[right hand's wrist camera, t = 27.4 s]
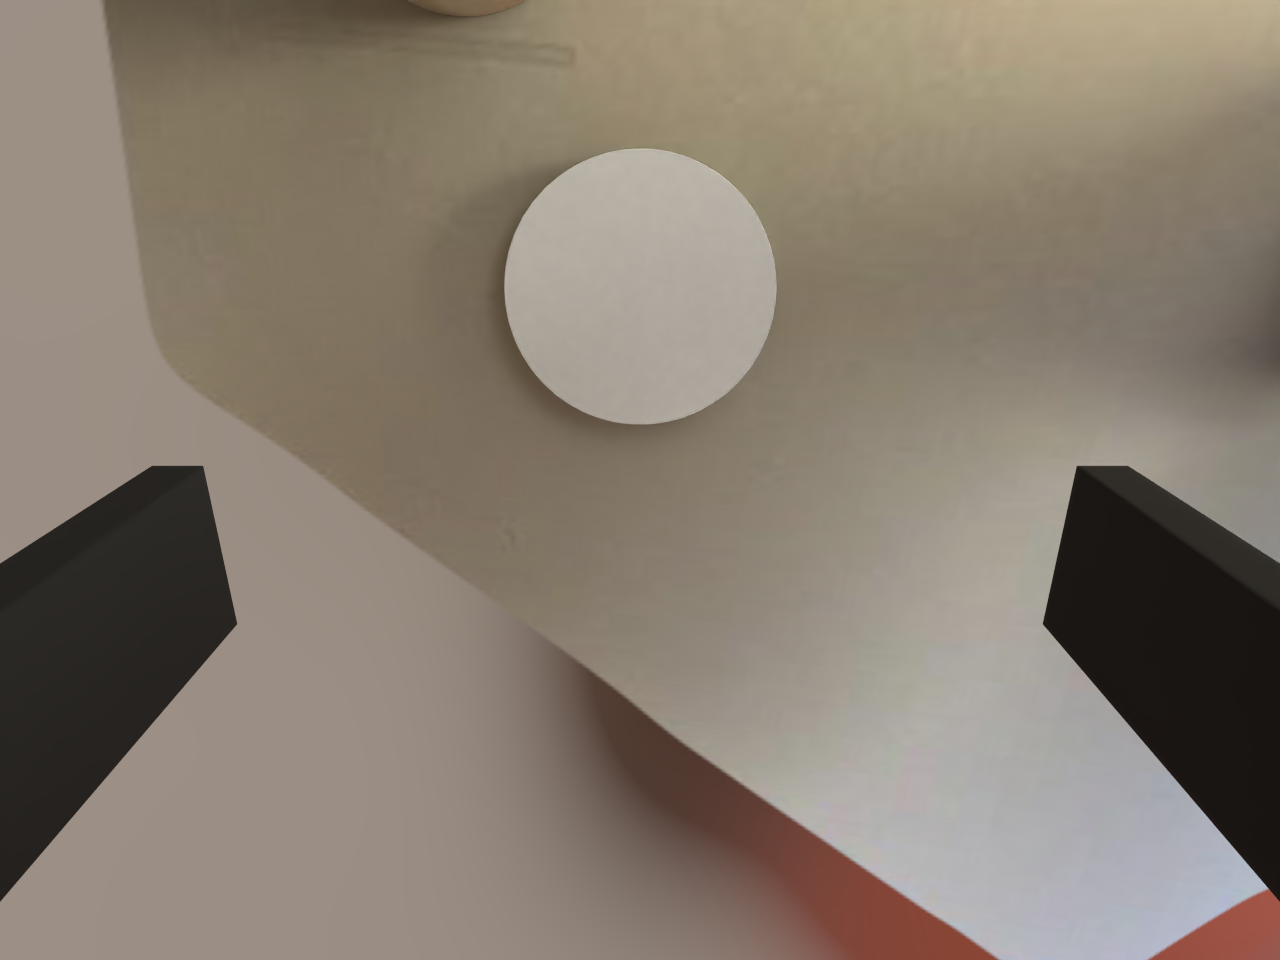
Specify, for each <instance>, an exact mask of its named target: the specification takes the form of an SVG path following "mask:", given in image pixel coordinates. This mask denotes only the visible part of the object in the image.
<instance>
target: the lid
mask: <svg viewBox="0 0 1280 960" xmlns="http://www.w3.org/2000/svg"><path fill="white" fill-rule="evenodd" d="M776 289H777V282H776V269H775V263H774V258H773V253H772V249H771V246H770V243H769V240H768V237H767V234H766V231H765V229H764V227H763V226H762V224H761V222H760V220H759V218H758V216H757V214H756V213H755V211H754V210H753V208H752V207H751V205H750V204H749V202H748V201H747V200H746V198H745V197H744V196H743V195H742V194H741V193H740V192H739V191H738V190H737V189H736V188H735V186H734V185H732V184H731V183H730V182H729V181H728V180H726V179H725V178H724V177H723V176H722V175H720V174H719V173H718V172H716V171H714V170H713V169H711V168H709V167H708V166H706V165H705V164H703V163H701V162H698V161H696V160H694V159H692V158H689V157H687V156H684V155H681V154H677V153H673V152H670V151H665V150H658V149H650V148H630V149H623V150H616V151H610V152H607V153H604V154H600V155H597V156H594V157H591V158H589V159H587V160H585V161H582V162H580V163H578V164H576V165H574V166H573V167H571V168H570V169H568V170H566V171H565V172H563V173H562V174H560V175H559V176H558V177H557V178H555V179H554V180H553V181H552V182H551V183H550V184H548V185H547V186H546V187H545V188H544V189H543V190H542V191H541V193H540V194H539V195H538V196H537V197H536V198H535V199H534V201H533V202H532V203H531V205H530V206H529V208H528V209H527V211H526V212H525V214H524V215H523V217H522V219H521V221H520V223H519V225H518V227H517V229H516V231H515V233H514V236H513V239H512V242H511V245H510V248H509V251H508V256H507V261H506V266H505V278H504V295H505V307H506V312H507V317H508V322H509V325H510V328H511V331H512V334H513V337H514V340H515V342H516V344H517V346H518V348H519V350H520V352H521V354H522V356H523V358H524V359H525V361H526V362H527V364H528V365H529V367H530V368H531V370H532V371H533V372H534V373H535V375H536V376H537V377H538V378H539V379H540V380H541V382H542V383H543V384H544V385H545V386H546V387H548V388H549V389H550V390H551V391H552V392H553V393H554V394H555V395H556V396H558V397H559V398H561V399H562V400H564V401H565V402H566V403H568V404H569V405H571V406H573V407H575V408H577V409H578V410H580V411H582V412H584V413H587V414H589V415H592V416H594V417H597V418H600V419H604V420H608V421H612V422H616V423H624V424H632V425H647V424H657V423H665V422H669V421H673V420H677V419H681V418H684V417H686V416H689V415H691V414H694V413H696V412H699V411H700V410H702V409H704V408H706V407H708V406H709V405H711V404H713V403H714V402H716V401H717V400H719V399H720V398H721V397H723V396H724V395H725V394H727V393H728V392H729V391H730V390H731V389H732V388H733V387H734V386H735V385H736V384H737V383H738V382H739V381H740V380H741V379H742V378H743V377H744V375H745V374H746V373H747V372H748V370H749V369H750V368H751V366H752V365H753V363H754V362H755V360H756V358H757V357H758V355H759V354H760V352H761V349H762V347H763V345H764V343H765V341H766V339H767V336H768V333H769V330H770V327H771V324H772V321H773V315H774V310H775V304H776Z"/></svg>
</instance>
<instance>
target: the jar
mask: <svg viewBox="0 0 1280 960" xmlns="http://www.w3.org/2000/svg"><path fill="white" fill-rule="evenodd" d="M407 1H409V2H411V3H413V4H415V5H417V6H419V7H422V8H425V9H427V10H430V11H433V12H437V13H441V14H446V15H452V16H464V17H468V16H483V15H487V14H492V13H496V12H500V11H503V10H505V9H508V8H510V7H513V6H515V5H517V4H519V3H520V2H522V1H524V0H407Z"/></svg>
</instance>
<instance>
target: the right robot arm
mask: <svg viewBox="0 0 1280 960" xmlns="http://www.w3.org/2000/svg"><path fill="white" fill-rule="evenodd" d="M236 625H237V621H236V616H235V612H234V607H233V603H232V598H231V593H230V589H229V584H228V579H227V575H226V570H225V565H224V561H223V556H222V552H221V547H220V542H219V538H218V533H217V528H216V524H215V519H214V514H213V510H212V505H211V500H210V496H209V491H208V487H207V482H206V477H205V473H204V468H203V466H151V467H150V468H148V469H147V470H145V471H144V472H142V473H140V474H139V475H137V476H136V477H134V478H133V479H131V480H130V481H128V482H126V483H125V484H123V485H122V486H120V487H119V488H117V489H115V490H114V491H112V492H111V493H109V494H108V495H106V496H105V497H103V498H101V499H100V500H98V501H97V502H95V503H94V504H92V505H91V506H89V507H87V508H86V509H84V510H83V511H81V512H80V513H78V514H77V515H75V516H74V517H72V518H70V519H69V520H67V521H66V522H64V523H63V524H61V525H60V526H58V527H56V528H55V529H53V530H52V531H50V532H49V533H47V534H46V535H44V536H42V537H41V538H39V539H38V540H36V541H35V542H33V543H32V544H30V545H28V546H27V547H25V548H24V549H22V550H21V551H19V552H18V553H16V554H14V555H13V556H11V557H10V558H8V559H7V560H5V561H4V562H2V563H0V901H1V900H2V899H3V898H4V896H5V895H6V894H7V893H8V892H9V891H10V889H11V888H12V887H13V886H14V885H15V884H16V882H17V881H18V880H19V879H20V878H21V877H22V875H23V874H24V873H25V872H26V871H27V870H28V868H29V867H30V866H31V865H32V864H33V862H34V861H35V860H36V859H37V858H38V857H39V855H40V854H41V853H42V852H43V851H44V850H45V848H46V847H47V846H48V845H49V844H50V843H51V841H52V840H53V839H54V838H55V837H56V836H57V834H58V833H59V832H60V831H61V830H62V829H63V827H64V826H65V825H66V824H67V823H68V822H69V820H70V819H71V818H72V817H73V816H74V814H75V813H76V812H77V811H78V810H79V809H80V807H81V806H82V805H83V804H84V803H85V802H86V800H87V799H88V798H89V797H90V796H91V795H92V793H93V792H94V791H95V790H96V789H97V788H98V786H99V785H100V784H101V783H102V782H103V781H104V779H105V778H106V777H107V776H108V775H109V773H110V772H111V771H112V770H113V769H114V768H115V766H116V765H117V764H118V763H119V762H120V761H121V759H122V758H123V757H124V756H125V755H126V754H127V752H128V751H129V750H130V749H131V748H132V746H133V745H134V744H135V743H136V742H137V741H138V739H139V738H140V737H141V736H142V735H143V734H144V733H145V731H146V730H147V729H148V728H149V727H150V725H151V724H152V723H153V722H154V721H155V720H156V718H157V717H158V716H159V715H160V714H161V713H162V711H163V710H164V709H165V708H166V707H167V706H168V704H169V703H170V702H171V701H172V700H173V699H174V697H175V696H176V695H177V694H178V693H179V692H180V690H181V689H182V688H183V687H184V686H185V684H186V683H187V682H188V681H189V680H190V679H191V677H192V676H193V675H194V674H195V673H196V672H197V670H198V669H199V668H200V667H201V666H202V665H203V663H204V662H205V661H206V660H207V659H208V657H209V656H210V655H211V654H212V653H213V652H214V651H215V649H216V648H217V647H218V646H219V645H220V643H221V642H222V641H223V640H224V639H225V638H226V636H227V635H228V634H229V633H230V632H231V631H232V629H233V628H234V627H235V626H236ZM1043 625H1044V626H1045V627H1046V628H1047V629H1048V631H1049V632H1050V633H1051V634H1052V635H1053V636H1054V638H1055V639H1056V640H1057V641H1058V642H1059V644H1060V645H1061V646H1062V647H1063V648H1064V649H1065V651H1066V652H1067V653H1068V654H1069V655H1070V656H1071V658H1072V659H1073V660H1074V661H1075V662H1076V663H1077V665H1078V666H1079V667H1080V668H1081V669H1082V670H1083V672H1084V673H1085V674H1086V675H1087V676H1088V677H1089V679H1090V680H1091V681H1092V682H1093V683H1094V684H1095V686H1096V687H1097V688H1098V689H1099V690H1100V692H1101V693H1102V694H1103V695H1104V696H1105V697H1106V699H1107V700H1108V701H1109V702H1110V703H1111V704H1112V706H1113V707H1114V708H1115V709H1116V710H1117V711H1118V713H1119V714H1120V715H1121V716H1122V717H1123V718H1124V720H1125V721H1126V722H1127V723H1128V724H1129V725H1130V727H1131V728H1132V729H1133V730H1134V731H1135V733H1136V734H1137V735H1138V736H1139V737H1140V738H1141V740H1142V741H1143V742H1144V743H1145V744H1146V745H1147V747H1148V748H1149V749H1150V750H1151V751H1152V752H1153V754H1154V755H1155V756H1156V757H1157V758H1158V759H1159V761H1160V762H1161V763H1162V764H1163V765H1164V766H1165V768H1166V769H1167V770H1168V771H1169V772H1170V774H1171V775H1172V776H1173V777H1174V778H1175V779H1176V781H1177V782H1178V783H1179V784H1180V785H1181V786H1182V788H1183V789H1184V790H1185V791H1186V792H1187V793H1188V795H1189V796H1190V797H1191V798H1192V799H1193V800H1194V802H1195V803H1196V804H1197V805H1198V806H1199V807H1200V809H1201V810H1202V811H1203V812H1204V813H1205V814H1206V816H1207V817H1208V818H1209V819H1210V820H1211V822H1212V823H1213V824H1214V825H1215V826H1216V827H1217V829H1218V830H1219V831H1220V832H1221V833H1222V834H1223V836H1224V837H1225V838H1226V839H1227V840H1228V841H1229V843H1230V844H1231V845H1232V846H1233V847H1234V848H1235V850H1236V851H1237V852H1238V853H1239V854H1240V855H1241V857H1242V858H1243V859H1244V860H1245V861H1246V863H1247V864H1248V865H1249V866H1250V867H1251V868H1252V870H1253V871H1254V872H1255V873H1256V874H1257V875H1258V877H1259V878H1260V879H1261V880H1262V881H1263V882H1264V884H1265V885H1266V886H1267V887H1268V888H1269V889H1270V891H1271V892H1272V893H1273V894H1274V895H1275V896H1276V898H1277V899H1278V900H1279V901H1280V563H1278V562H1276V561H1275V560H1273V559H1272V558H1270V557H1269V556H1267V555H1266V554H1264V553H1262V552H1261V551H1259V550H1258V549H1256V548H1255V547H1253V546H1252V545H1250V544H1248V543H1247V542H1245V541H1244V540H1242V539H1241V538H1239V537H1238V536H1236V535H1234V534H1233V533H1231V532H1230V531H1228V530H1227V529H1225V528H1224V527H1222V526H1220V525H1219V524H1217V523H1216V522H1214V521H1213V520H1211V519H1210V518H1208V517H1206V516H1205V515H1203V514H1202V513H1200V512H1199V511H1197V510H1196V509H1194V508H1193V507H1191V506H1189V505H1188V504H1186V503H1185V502H1183V501H1182V500H1180V499H1179V498H1177V497H1175V496H1174V495H1172V494H1171V493H1169V492H1168V491H1166V490H1165V489H1163V488H1161V487H1160V486H1158V485H1157V484H1155V483H1154V482H1152V481H1151V480H1149V479H1147V478H1146V477H1144V476H1143V475H1141V474H1140V473H1138V472H1137V471H1135V470H1133V469H1132V468H1130V467H1129V466H1077V468H1076V473H1075V477H1074V482H1073V487H1072V491H1071V496H1070V500H1069V505H1068V510H1067V514H1066V519H1065V524H1064V528H1063V533H1062V538H1061V542H1060V547H1059V551H1058V556H1057V561H1056V565H1055V570H1054V575H1053V579H1052V584H1051V589H1050V593H1049V598H1048V603H1047V607H1046V612H1045V616H1044V621H1043Z"/></svg>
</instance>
